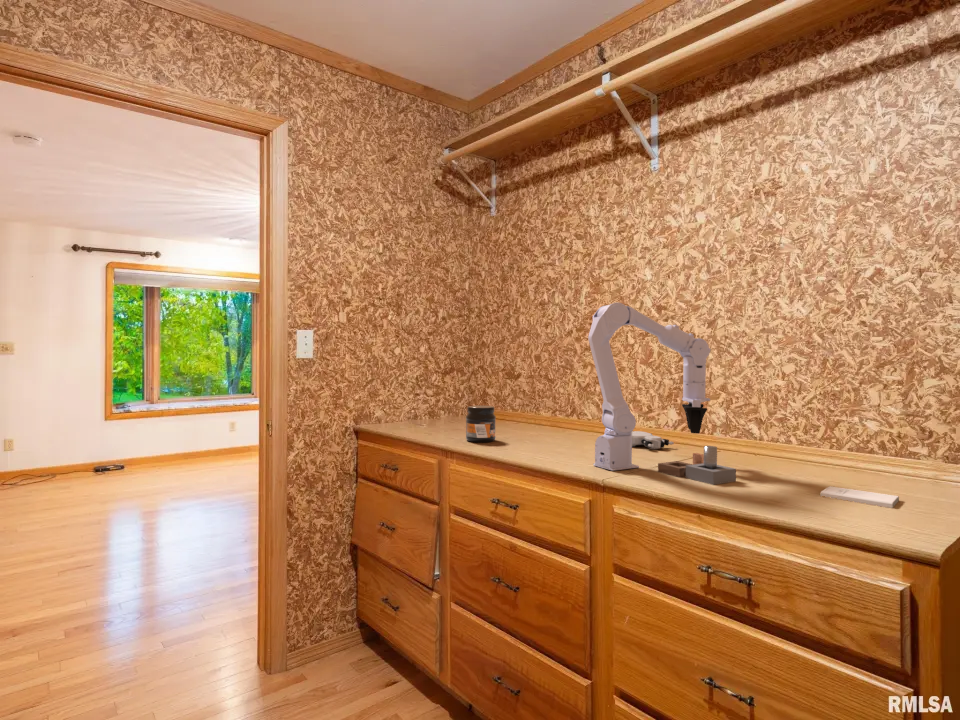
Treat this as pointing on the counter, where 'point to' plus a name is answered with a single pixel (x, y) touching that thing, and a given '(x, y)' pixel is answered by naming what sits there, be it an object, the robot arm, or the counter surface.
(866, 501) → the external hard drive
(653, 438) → the robot toy
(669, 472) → the socket block
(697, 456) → the pin
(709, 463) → the rounded metal peg
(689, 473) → the block
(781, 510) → the counter surface
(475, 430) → the supplement container
